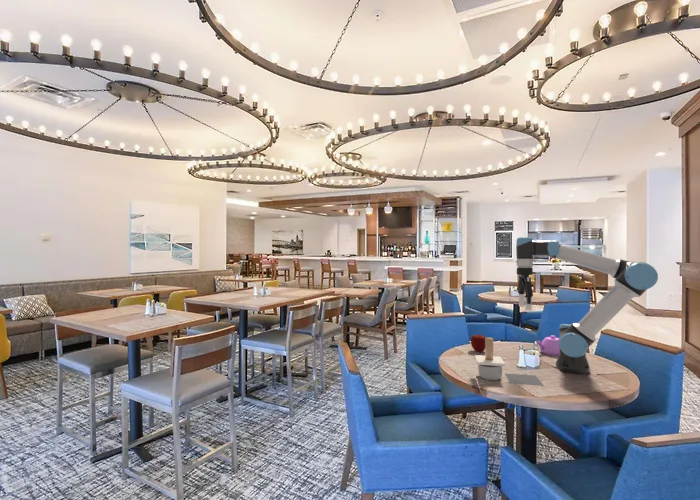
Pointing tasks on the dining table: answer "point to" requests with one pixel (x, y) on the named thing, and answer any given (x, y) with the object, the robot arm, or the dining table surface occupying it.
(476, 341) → the apple
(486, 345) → the lid
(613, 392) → the dining table surface
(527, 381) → the mat
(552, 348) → the teapot
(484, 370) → the teacup
